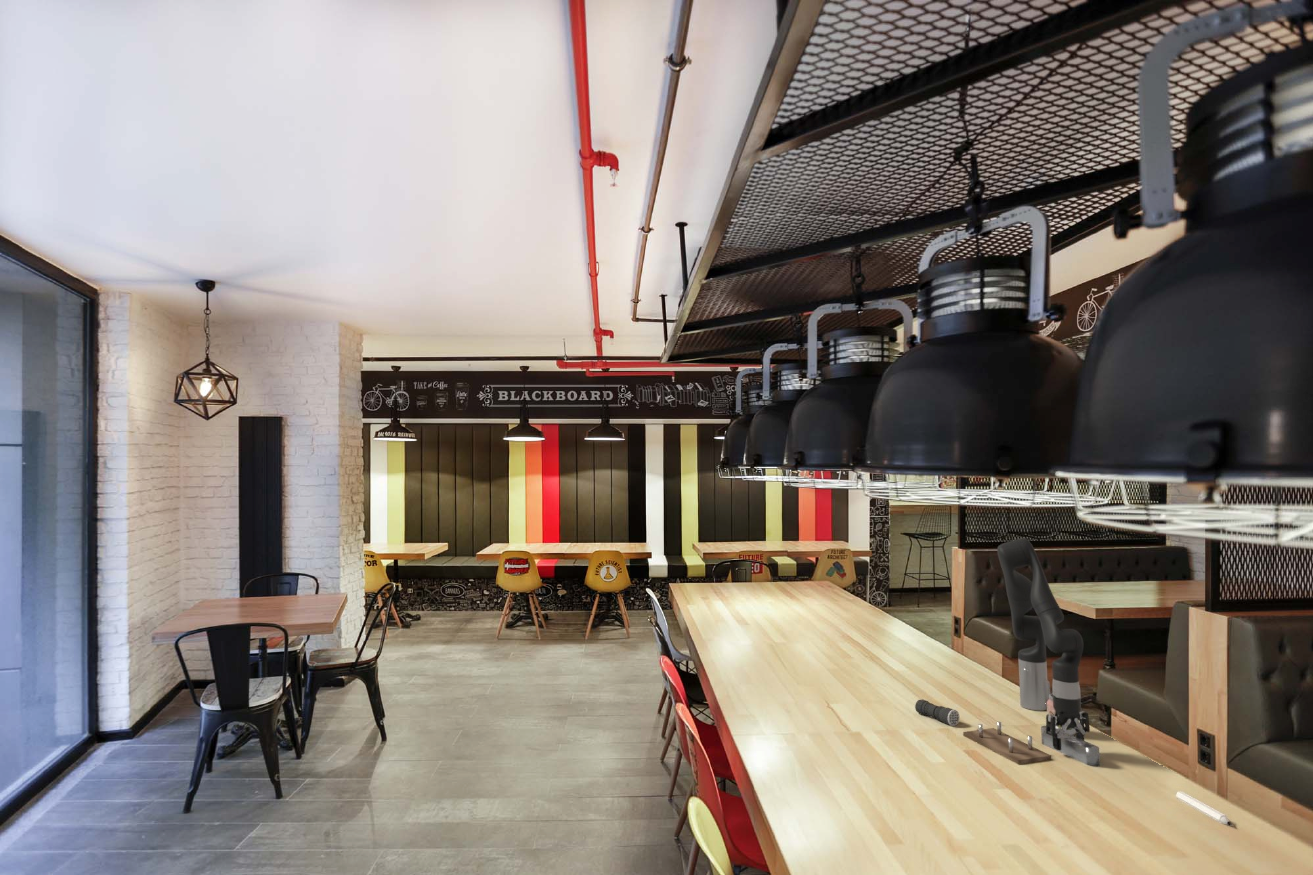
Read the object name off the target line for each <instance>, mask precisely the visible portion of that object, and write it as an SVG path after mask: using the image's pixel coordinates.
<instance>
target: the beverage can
mask: <svg viewBox="0 0 1313 875" xmlns="http://www.w3.org/2000/svg"><path fill="white" fill-rule="evenodd" d="M1047 714H1048V715H1055V709H1054V707H1053V693H1050V695H1049V700H1048V701H1047V710H1046V715H1047ZM1058 727H1060V725H1059V726H1058ZM1060 728H1061V727H1060ZM1065 733H1067V734H1070V735H1072V736H1074V737H1075V736H1076V733H1077V732H1076V731H1075V729H1074V728H1070V729H1066V730H1065Z"/></svg>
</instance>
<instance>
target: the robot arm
mask: <svg viewBox="0 0 1313 875" xmlns="http://www.w3.org/2000/svg"><path fill="white" fill-rule="evenodd" d="M996 549H997V551H996V552H997V557H998V560H999V564H1000V567H1001V571H1002V574H1003V577H1004V583H1005V590H1006V596H1007V600H1008V604H1009V607H1010V608H1009V609H1010V614H1011V624H1012V626H1011V627H1012V631H1013V635H1014V637H1015V638H1016V639H1017V640H1019V641H1023V642H1024V641H1025V642H1034V643H1035V645H1032V646H1031V647H1030V646H1029V647H1027V648H1022V649H1020V650H1018V654H1017V655H1018V656H1017V657H1018V674H1019V675H1018V677H1019V679H1018V680H1019V700H1020V701H1019V703H1020V706H1021V707H1022V708H1025V709H1027V710H1032V711H1047V701H1048V700H1049V695H1050V694H1051V692H1052V694H1053V707H1054V709H1055V715H1048V714H1047V713H1046V717H1045V726H1046V733H1047V734H1048V735H1051V736H1052V737H1053V747H1054V748H1055V749H1057V750H1061V738H1060V737H1061V735H1062V733H1063V732H1065V730H1066V729H1070V728H1074V729H1075V731H1076V733H1075V737H1077V738H1079V739H1081V740H1084V741H1085V735H1086V733H1090V730H1091V728H1090V718H1089V712H1086V711H1083V710H1082V704H1081V703H1082V700H1081V686H1080V679H1079V677H1080V675H1079V666H1080V663H1081V661H1082V660H1081V659H1082V656H1083V651H1084V639H1083V637H1082V635H1081V634H1080V632H1079V631H1078V630H1076V629H1075V628H1074V629H1073V628H1063V629H1061V628H1058V625H1059V624H1060V623H1062V622H1063V621H1064V619H1065V615H1064V613H1063V611H1062V609H1061V607H1060V605H1059V604H1058V602H1057V600H1056V598H1055V597H1054V596H1055V595H1054V594H1053V592H1052V590H1051V587H1050V586H1049V583H1048V579H1047V577H1046V575H1045V571H1044V569H1043V567H1042V564H1041V562H1040V560H1039V557H1038V555H1037V552H1036V550H1035V547H1034V546H1033V544H1032V543H1031V541H1030V540H1029V539H1028V538H1026V537H1022V538H1021V537H1020V538H1017V539H1014V540H1011V541H1007V542H1004V543H1000V545H998V546H997V548H996ZM1028 566H1030V569H1031V571H1032V581H1031V580H1030V579H1029V578H1028V577H1027V576H1025V575H1023V574H1022V573H1020V572H1018V571H1016V570H1017V569H1020V568H1024V567H1028ZM1032 609H1033V610H1034V611H1035V613H1036V615H1035V616H1034V615H1026V614H1027V613H1028V612H1030V611H1031V610H1032ZM1047 648H1048V649H1049V650H1050V651H1051V652H1052V653H1055V654H1061V656H1060V657H1059V658H1057V659H1054V660H1053V661H1052V683H1051V682H1050V681H1049V680H1048V667H1047V666H1048V664H1047ZM1051 684H1052V686H1051ZM1051 687H1052V690H1051ZM1045 703H1046V704H1045ZM1059 725H1060V727H1061V728H1060V727H1058V726H1059ZM1050 729H1051V731H1050ZM1058 730H1059V731H1058ZM1057 731H1058V732H1057ZM1056 732H1057V733H1056Z"/></svg>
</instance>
